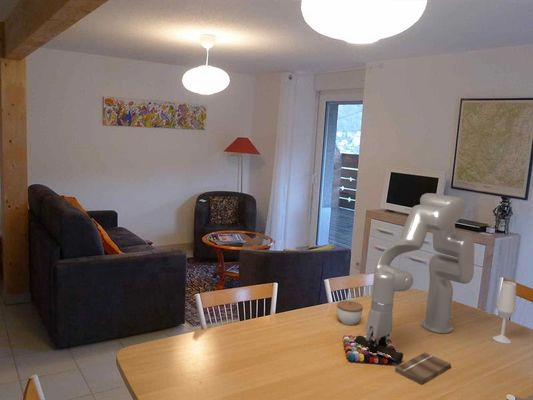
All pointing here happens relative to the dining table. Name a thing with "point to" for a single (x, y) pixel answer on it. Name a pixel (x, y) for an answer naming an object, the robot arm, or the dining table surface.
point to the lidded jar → (349, 312)
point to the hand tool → (381, 349)
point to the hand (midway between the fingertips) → (377, 352)
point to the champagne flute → (506, 307)
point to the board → (422, 368)
